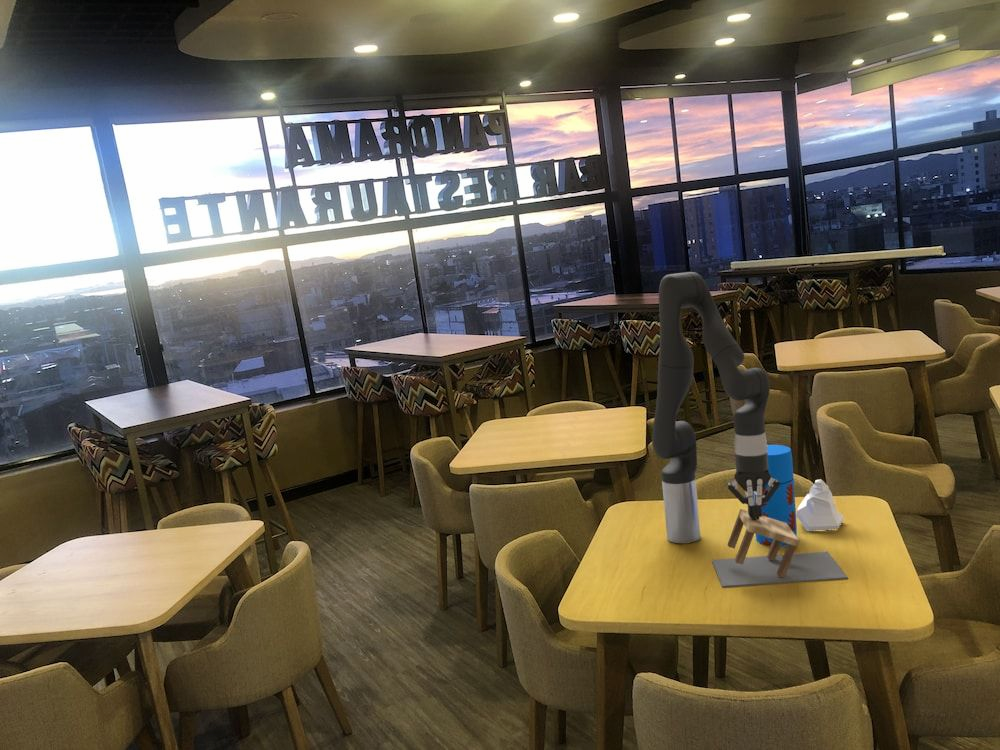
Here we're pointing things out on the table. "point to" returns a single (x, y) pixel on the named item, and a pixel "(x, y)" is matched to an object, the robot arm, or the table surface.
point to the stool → (768, 529)
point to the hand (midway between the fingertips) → (755, 518)
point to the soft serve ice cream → (819, 509)
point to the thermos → (780, 491)
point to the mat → (765, 570)
